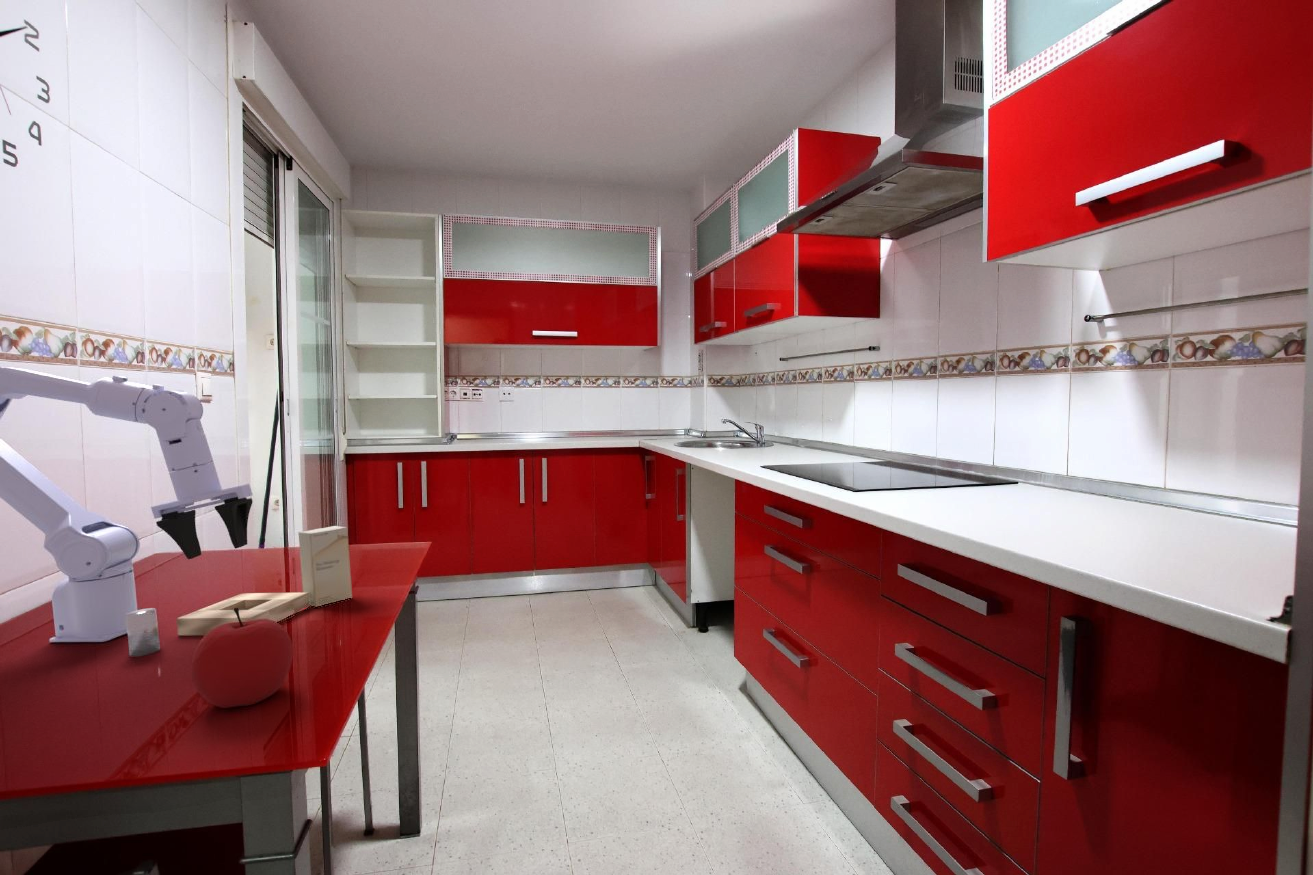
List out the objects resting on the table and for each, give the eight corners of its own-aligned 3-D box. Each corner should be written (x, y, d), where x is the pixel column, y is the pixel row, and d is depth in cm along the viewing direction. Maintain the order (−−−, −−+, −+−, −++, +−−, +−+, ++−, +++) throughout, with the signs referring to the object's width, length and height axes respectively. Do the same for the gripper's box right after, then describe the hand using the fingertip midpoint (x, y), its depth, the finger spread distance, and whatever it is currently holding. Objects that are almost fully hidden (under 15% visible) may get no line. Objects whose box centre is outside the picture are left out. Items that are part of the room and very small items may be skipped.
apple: (178, 727, 63) (169, 628, 62) (214, 689, 72) (206, 603, 71) (282, 709, 65) (274, 615, 65) (304, 675, 74) (297, 591, 74)
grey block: (123, 656, 84) (119, 616, 84) (145, 647, 87) (141, 608, 87) (144, 656, 84) (139, 615, 83) (166, 647, 87) (162, 607, 86)
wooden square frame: (178, 635, 91) (176, 618, 91) (243, 608, 103) (242, 593, 103) (251, 634, 90) (250, 617, 90) (309, 607, 101) (308, 592, 101)
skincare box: (315, 609, 101) (309, 533, 100) (302, 605, 103) (296, 531, 103) (354, 598, 106) (348, 526, 105) (341, 594, 108) (335, 524, 108)
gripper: (124, 482, 93) (153, 570, 94) (218, 460, 92) (245, 548, 94) (162, 475, 100) (188, 556, 101) (249, 454, 99) (274, 536, 101)
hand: (218, 551), depth 98 cm, fingers open, 7 cm apart
